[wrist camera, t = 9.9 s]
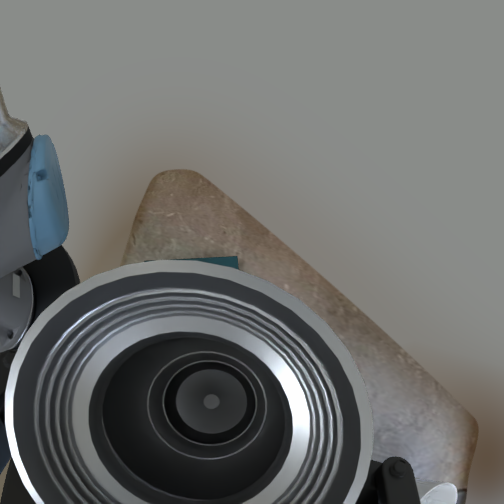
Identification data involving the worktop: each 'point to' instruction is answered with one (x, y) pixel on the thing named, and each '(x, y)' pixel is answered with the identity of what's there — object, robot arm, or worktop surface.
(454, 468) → the worktop surface
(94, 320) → the silver bottle
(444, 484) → the white cup
